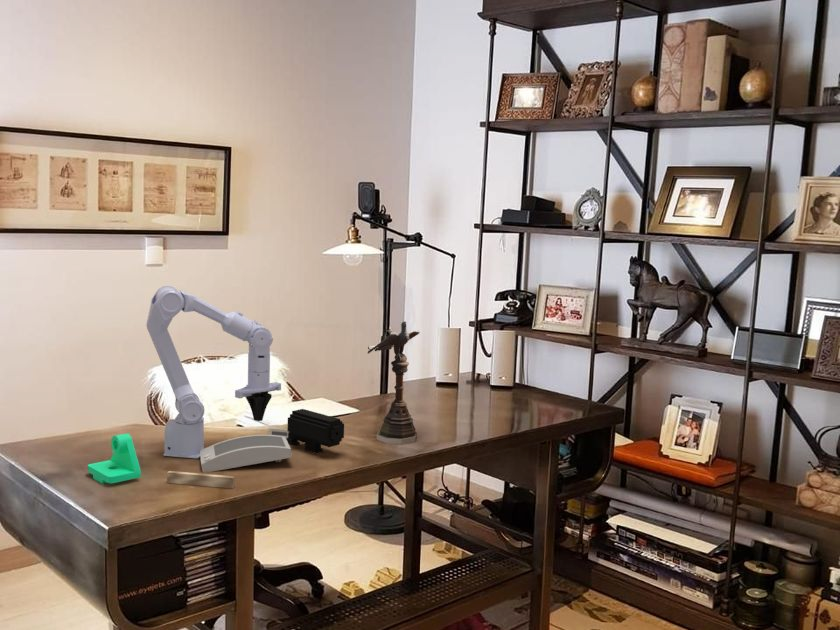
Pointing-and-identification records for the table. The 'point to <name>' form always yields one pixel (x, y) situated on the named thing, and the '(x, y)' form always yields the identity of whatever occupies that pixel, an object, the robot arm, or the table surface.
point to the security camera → (314, 430)
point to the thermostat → (244, 452)
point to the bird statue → (397, 392)
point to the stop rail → (200, 479)
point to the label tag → (278, 432)
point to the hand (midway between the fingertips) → (258, 420)
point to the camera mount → (118, 462)
